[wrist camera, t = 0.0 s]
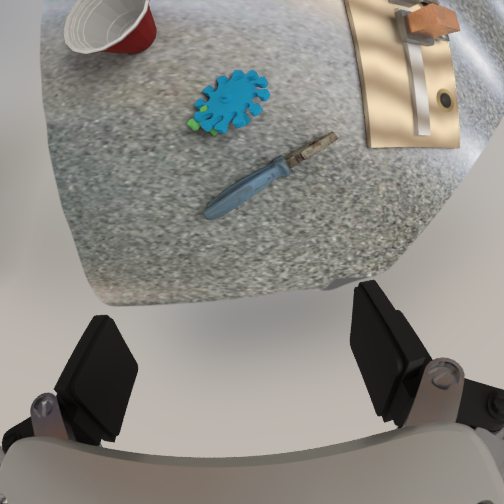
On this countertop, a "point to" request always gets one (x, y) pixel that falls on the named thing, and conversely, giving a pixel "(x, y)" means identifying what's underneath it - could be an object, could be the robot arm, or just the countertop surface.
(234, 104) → the gear
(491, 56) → the countertop surface
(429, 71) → the wooden slide jig
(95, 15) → the plastic cup
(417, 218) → the countertop surface
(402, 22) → the block
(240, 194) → the pliers
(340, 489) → the robot arm
